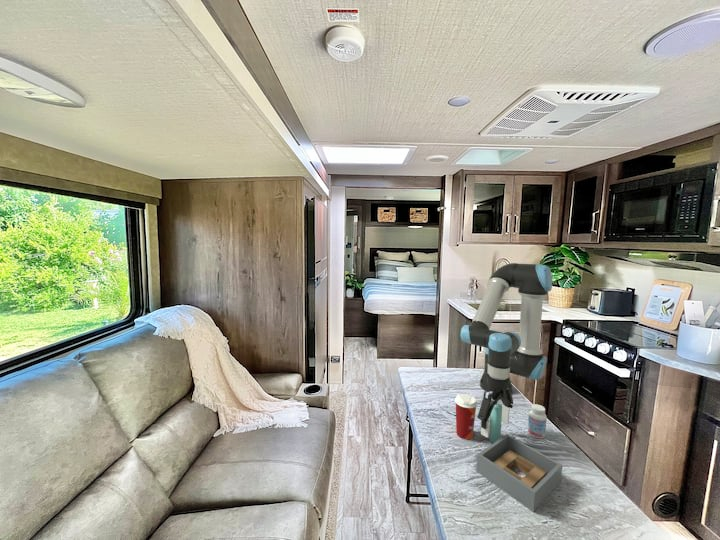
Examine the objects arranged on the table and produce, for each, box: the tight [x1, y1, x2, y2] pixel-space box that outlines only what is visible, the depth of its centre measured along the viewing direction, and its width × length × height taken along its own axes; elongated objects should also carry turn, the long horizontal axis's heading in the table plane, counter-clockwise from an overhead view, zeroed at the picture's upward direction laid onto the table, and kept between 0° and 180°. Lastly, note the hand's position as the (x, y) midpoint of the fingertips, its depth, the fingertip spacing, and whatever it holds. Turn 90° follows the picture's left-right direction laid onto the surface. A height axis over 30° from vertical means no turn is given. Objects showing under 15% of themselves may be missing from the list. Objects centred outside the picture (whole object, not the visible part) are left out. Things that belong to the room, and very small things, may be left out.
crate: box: [476, 433, 563, 513], centre depth 96 cm, size 18×18×6 cm
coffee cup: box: [454, 393, 478, 441], centre depth 116 cm, size 8×8×15 cm
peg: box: [488, 403, 502, 444], centre depth 113 cm, size 4×4×14 cm
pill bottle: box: [527, 403, 548, 440], centre depth 117 cm, size 6×6×11 cm
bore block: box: [493, 450, 547, 489], centre depth 96 cm, size 12×12×3 cm
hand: (495, 428), depth 113 cm, fingers open, 13 cm apart
